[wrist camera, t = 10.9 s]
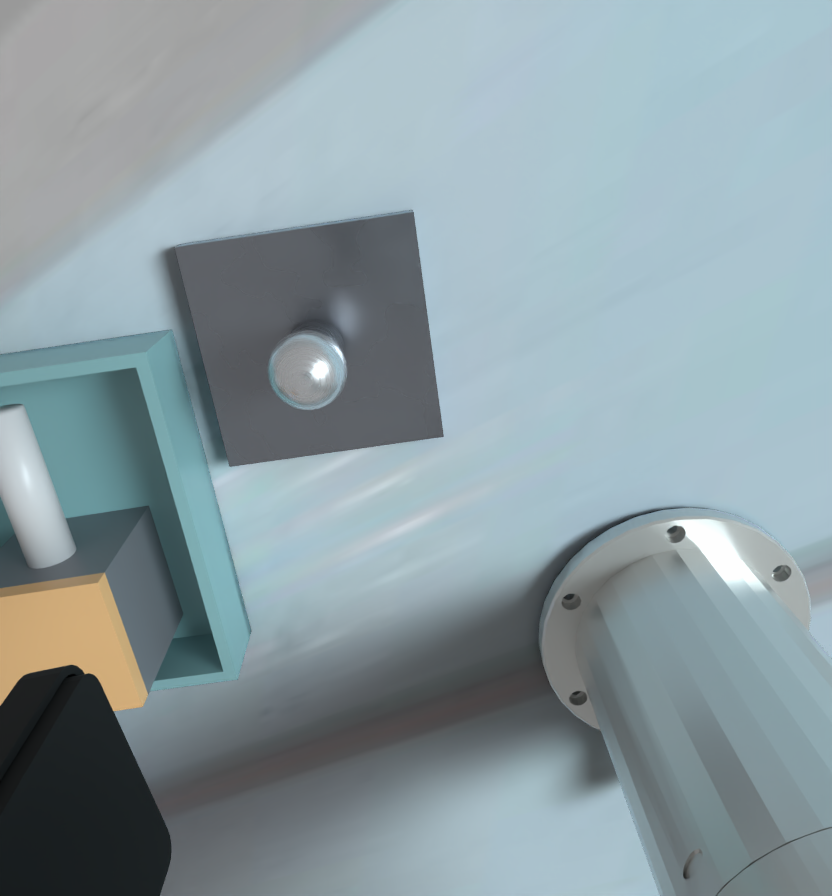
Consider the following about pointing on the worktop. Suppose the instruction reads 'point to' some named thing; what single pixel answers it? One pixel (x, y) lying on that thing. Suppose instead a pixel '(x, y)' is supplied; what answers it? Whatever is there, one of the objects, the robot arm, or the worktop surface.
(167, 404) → the bin
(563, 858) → the worktop surface
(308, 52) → the worktop surface
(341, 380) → the grey piece
